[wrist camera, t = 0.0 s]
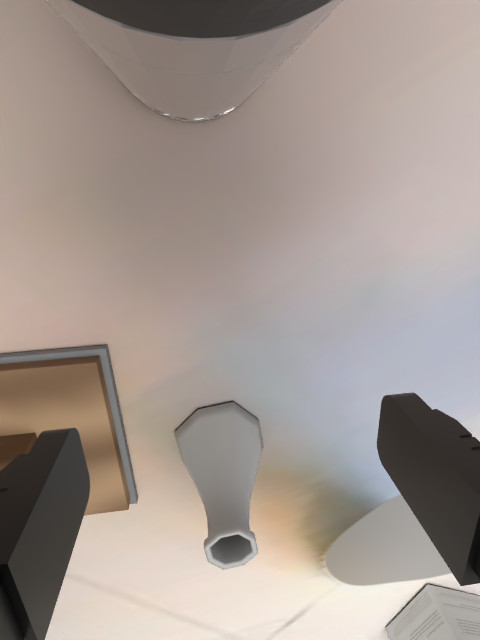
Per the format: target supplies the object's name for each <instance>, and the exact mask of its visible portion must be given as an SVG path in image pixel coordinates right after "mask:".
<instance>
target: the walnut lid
mask: <svg viewBox="0 0 480 640" xmlns="http://www.w3.org/2000/svg"><path fill="white" fill-rule="evenodd" d="M66 428H76V429H77V430H78V432H79V435H80V439H81V443H82V447H83V451H84V455H85V459H86V464H87V468H88V472H89V477H90V494H89V500H88V503H87V507H86V510H85V513H84V515H90V514H98V513H106V512H114V511H122V510H128V509H129V503H130V497H129V492H128V487H127V482H126V478H125V473H124V468H123V464H122V459H121V454H120V450H119V445H118V440H117V436H116V431H115V426H114V421H113V417H112V412H111V407H110V403H109V398H108V393H107V389H106V384H105V379H104V375H103V370H102V365H101V360H100V356H88V357H77V358H66V359H54V360H43V361H32V362H20V363H9V364H0V471H1V470H2V469H3V468H4V467H6V466H7V465H8V464H9V463H10V462H11V461H12V460H14V459H15V458H16V457H17V456H18V455H20V454H29V452H30V450H31V448H32V447H33V445H34V443H35V441H36V440H37V438H38V436H39V435H40V433H41V432H42V431H47V430H56V429H66Z"/></svg>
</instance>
